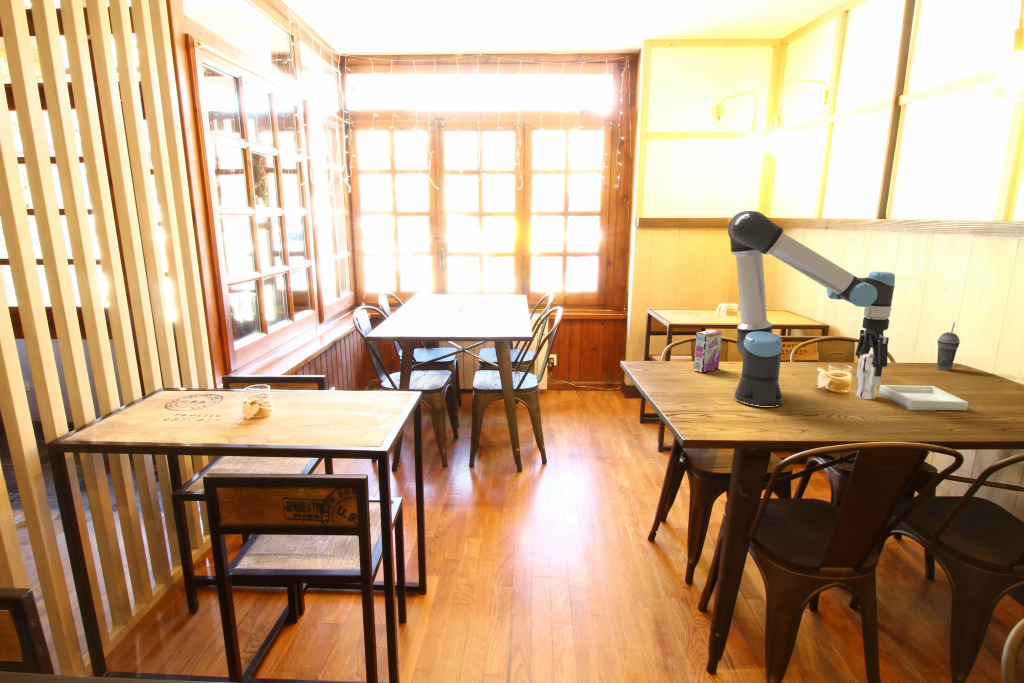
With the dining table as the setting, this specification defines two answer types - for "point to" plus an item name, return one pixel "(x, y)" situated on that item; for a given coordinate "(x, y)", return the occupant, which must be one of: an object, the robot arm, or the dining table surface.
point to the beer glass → (865, 377)
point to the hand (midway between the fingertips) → (867, 380)
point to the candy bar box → (707, 350)
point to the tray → (922, 397)
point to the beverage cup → (947, 349)
